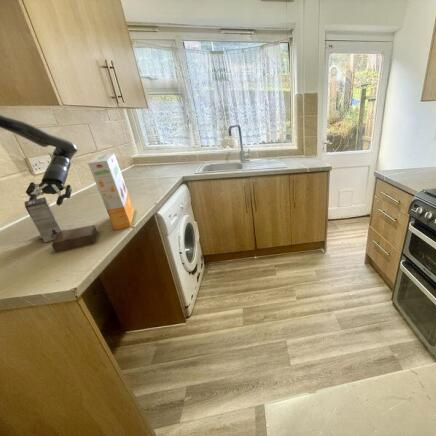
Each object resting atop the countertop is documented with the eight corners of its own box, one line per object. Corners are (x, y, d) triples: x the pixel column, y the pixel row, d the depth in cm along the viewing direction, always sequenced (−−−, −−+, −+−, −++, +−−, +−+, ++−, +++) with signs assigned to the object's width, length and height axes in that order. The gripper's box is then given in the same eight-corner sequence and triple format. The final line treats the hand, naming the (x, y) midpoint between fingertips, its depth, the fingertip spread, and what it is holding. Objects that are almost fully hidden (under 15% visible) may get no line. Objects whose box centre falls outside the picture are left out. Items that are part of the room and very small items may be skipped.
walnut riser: (55, 252, 91) (50, 243, 90) (62, 239, 101) (58, 231, 99) (94, 244, 97) (91, 235, 95) (98, 232, 106) (94, 224, 105)
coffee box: (42, 236, 105) (23, 201, 98) (61, 230, 109) (44, 196, 102) (44, 243, 99) (24, 206, 92) (64, 237, 103) (47, 201, 96)
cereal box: (120, 213, 126) (98, 154, 114) (134, 210, 129) (114, 153, 116) (115, 230, 108) (87, 163, 95) (131, 227, 110) (106, 160, 98)
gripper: (77, 182, 119) (69, 209, 111) (39, 179, 114) (26, 207, 105) (72, 171, 114) (63, 199, 106) (31, 168, 108) (18, 197, 100)
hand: (45, 203), depth 106 cm, fingers open, 8 cm apart
